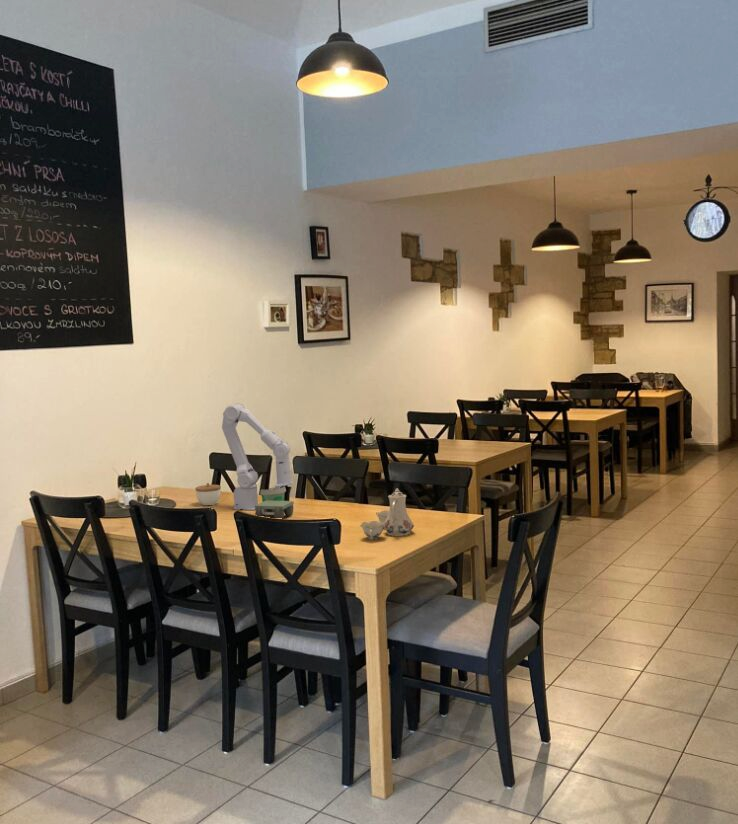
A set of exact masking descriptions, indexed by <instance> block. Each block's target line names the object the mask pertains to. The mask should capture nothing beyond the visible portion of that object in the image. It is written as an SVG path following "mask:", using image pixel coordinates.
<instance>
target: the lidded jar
mask: <svg viewBox="0 0 738 824" xmlns="http://www.w3.org/2000/svg"><path fill="white" fill-rule="evenodd" d="M194 489H195V495H196V499H197V501H198V502H199V504H200V505H201V506H203V505H212V506H216V505H217V503H218V502H219V501H220V499H221V491H222V490H221V489H222V487H221V485H219V484H210V483H209V482H207V483H206V484H205V485H203V484H202V485H199V486H196V487H195V488H194Z"/></svg>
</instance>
